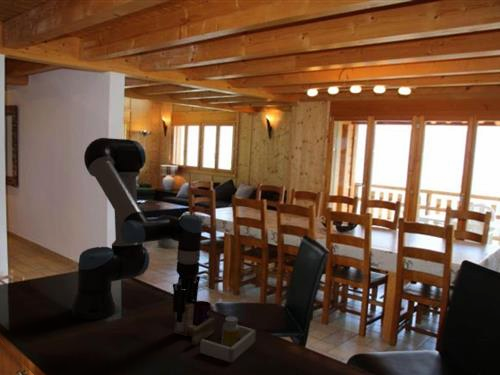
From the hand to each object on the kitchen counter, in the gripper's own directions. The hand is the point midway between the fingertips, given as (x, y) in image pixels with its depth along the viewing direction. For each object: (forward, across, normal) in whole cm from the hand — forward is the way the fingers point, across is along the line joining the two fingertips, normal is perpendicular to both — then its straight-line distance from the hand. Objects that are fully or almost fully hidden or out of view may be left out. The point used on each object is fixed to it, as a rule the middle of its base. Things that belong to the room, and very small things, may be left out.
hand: (183, 328), depth 148 cm
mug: (+2, +12, +2) cm, 12 cm away
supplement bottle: (+2, 0, -18) cm, 18 cm away
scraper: (+1, 0, -3) cm, 3 cm away
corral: (+2, 0, -17) cm, 17 cm away
